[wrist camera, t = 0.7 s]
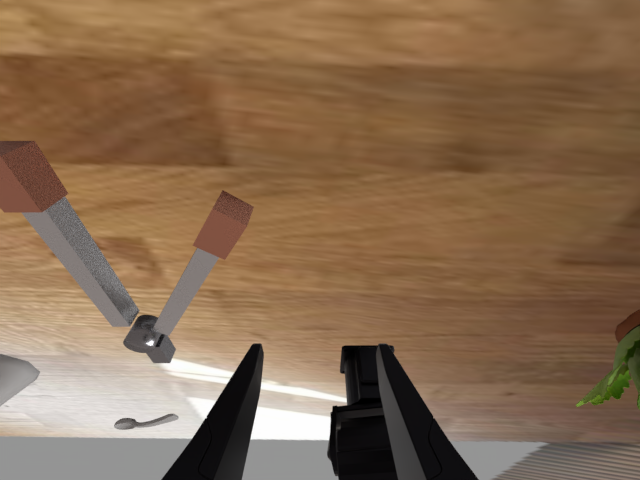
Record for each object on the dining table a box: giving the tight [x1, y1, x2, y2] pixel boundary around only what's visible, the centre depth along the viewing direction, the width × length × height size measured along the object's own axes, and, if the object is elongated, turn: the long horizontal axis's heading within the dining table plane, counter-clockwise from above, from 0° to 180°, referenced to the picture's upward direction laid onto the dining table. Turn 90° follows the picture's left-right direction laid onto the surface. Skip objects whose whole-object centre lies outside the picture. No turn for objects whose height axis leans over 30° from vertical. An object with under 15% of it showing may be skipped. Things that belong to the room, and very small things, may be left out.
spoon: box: [114, 414, 179, 430], centre depth 50 cm, size 3×12×2 cm, turn 104°
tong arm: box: [123, 190, 254, 353], centre depth 26 cm, size 22×4×3 cm, turn 145°
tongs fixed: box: [0, 141, 176, 363], centre depth 26 cm, size 26×4×3 cm, turn 0°
